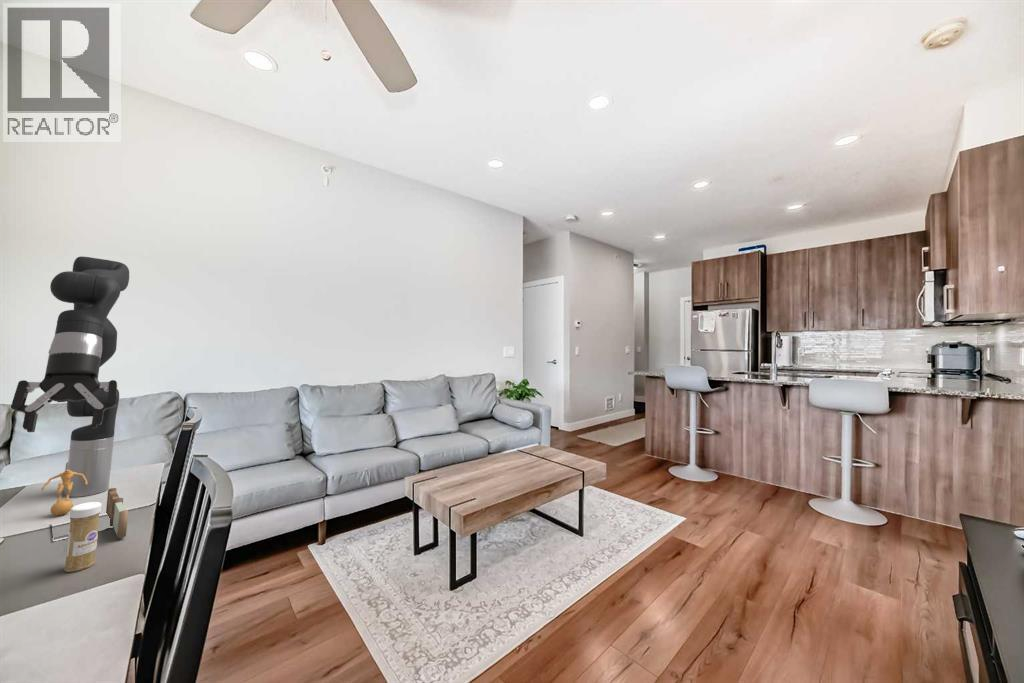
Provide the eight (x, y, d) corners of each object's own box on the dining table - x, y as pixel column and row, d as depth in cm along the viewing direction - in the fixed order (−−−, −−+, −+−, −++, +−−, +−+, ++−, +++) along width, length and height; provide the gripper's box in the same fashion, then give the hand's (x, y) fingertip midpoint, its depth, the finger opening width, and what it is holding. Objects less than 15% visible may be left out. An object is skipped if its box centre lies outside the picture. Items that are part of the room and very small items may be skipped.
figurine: (35, 521, 98) (40, 476, 98) (41, 513, 102) (46, 469, 103) (82, 513, 103) (87, 470, 104) (86, 506, 108) (90, 465, 108)
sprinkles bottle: (83, 572, 79) (89, 509, 80) (56, 573, 78) (63, 510, 79) (101, 560, 84) (107, 500, 84) (76, 561, 83) (83, 501, 83)
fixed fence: (104, 513, 104) (106, 489, 104) (114, 510, 106) (117, 487, 106) (110, 527, 97) (112, 501, 97) (121, 524, 99) (123, 499, 99)
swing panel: (111, 526, 97) (114, 502, 97) (120, 524, 98) (122, 500, 99) (117, 539, 92) (119, 513, 92) (126, 536, 93) (129, 511, 93)
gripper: (123, 362, 89) (114, 429, 85) (27, 359, 79) (11, 436, 75) (121, 352, 84) (112, 423, 80) (19, 349, 74) (1, 430, 70)
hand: (63, 429), depth 77 cm, fingers open, 8 cm apart
